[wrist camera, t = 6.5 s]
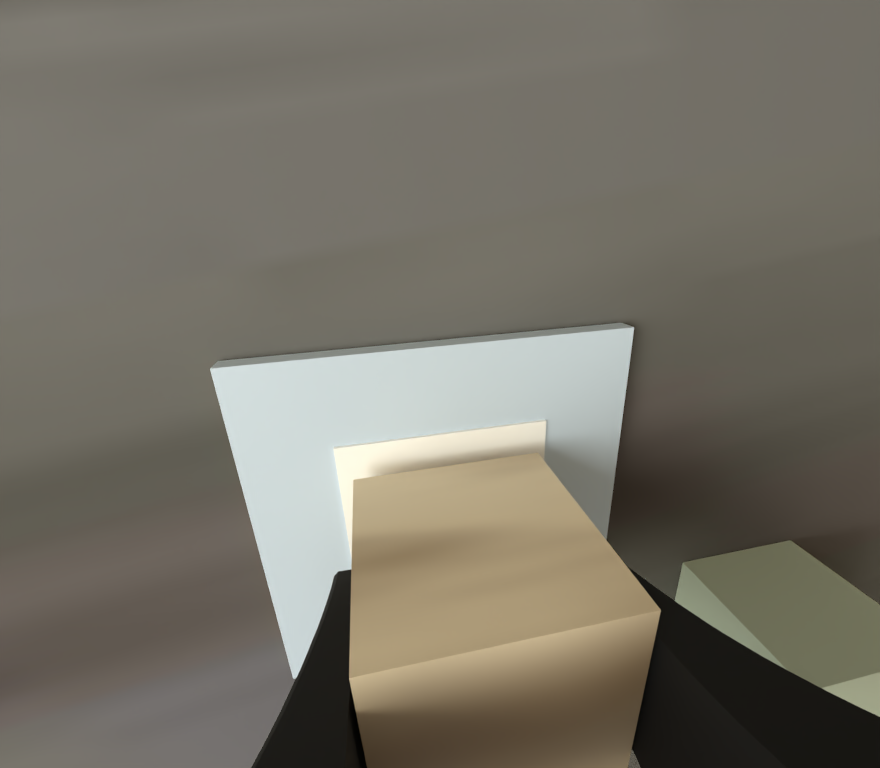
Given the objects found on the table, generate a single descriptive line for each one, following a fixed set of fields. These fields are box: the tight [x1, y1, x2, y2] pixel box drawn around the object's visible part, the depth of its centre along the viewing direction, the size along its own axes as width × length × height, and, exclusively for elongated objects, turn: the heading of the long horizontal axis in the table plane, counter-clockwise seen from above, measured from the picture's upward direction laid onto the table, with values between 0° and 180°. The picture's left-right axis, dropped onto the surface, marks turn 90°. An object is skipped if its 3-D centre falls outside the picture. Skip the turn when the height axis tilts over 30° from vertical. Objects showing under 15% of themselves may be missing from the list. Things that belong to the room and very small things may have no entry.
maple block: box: [349, 453, 661, 768], centre depth 9 cm, size 5×5×5 cm
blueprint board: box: [210, 323, 634, 679], centre depth 13 cm, size 11×11×1 cm
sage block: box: [675, 540, 880, 717], centre depth 15 cm, size 5×5×5 cm
